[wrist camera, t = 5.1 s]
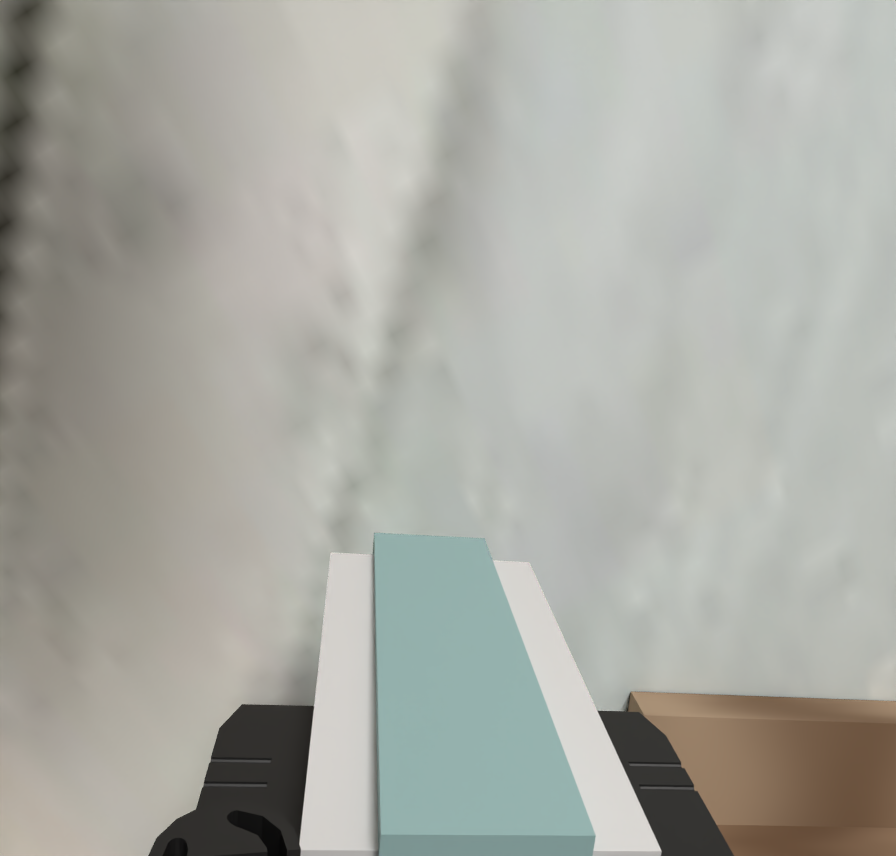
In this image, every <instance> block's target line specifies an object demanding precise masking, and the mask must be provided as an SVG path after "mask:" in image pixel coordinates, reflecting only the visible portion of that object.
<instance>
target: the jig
mask: <svg viewBox="0 0 896 856" xmlns="http://www.w3.org/2000/svg"><path fill="white" fill-rule="evenodd" d="M628 712H640V713H641V714H642V715H643V716H644V717H645V718H647V719H648V720H649V721H650V722H651V723H652V724H653V725H655V726H656V727H657V728H658V729H659V730H660V731H661V732H663V733H664V734H665V735H666V736H667V738H668V740H669V742H670V743H671V745H672V747H673V749H674V750H675V752H676V754H677V756H678V758H679V759H680V761H681V767H682V768H685V770H686V772H687V773H688V775H689V777H690V779H691V780H692V782H693V784H694V790H695V791H698V793H699V795H700V796H701V798H702V800H703V802H704V803H705V805H706V807H707V809H708V810H709V812H710V814H711V816H712V818H713V819H714V821H715V823H716V825H717V826H718V828H719V830H720V832H721V833H722V835H723V837H724V839H725V840H726V842H727V844H728V846H729V847H730V849H731V851H732V853H733V855H734V856H896V701H874V700H846V699H819V698H791V697H763V696H736V695H708V694H681V693H653V692H631V695H630V701H629V707H628Z"/></svg>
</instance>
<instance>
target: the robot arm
mask: <svg viewBox="0 0 896 856" xmlns="http://www.w3.org/2000/svg"><path fill="white" fill-rule="evenodd" d="M493 563H494V565H495V568H496V571H497V573H498V576H499V579H500V581H501V584H502V587H503V589H504V592H505V595H506V597H507V600H508V603H509V605H510V608H511V611H512V613H513V616H514V619H515V621H516V624H517V627H518V629H519V632H520V635H521V637H522V640H523V643H524V645H525V648H526V651H527V653H528V656H529V659H530V661H531V664H532V667H533V669H534V672H535V675H536V677H537V680H538V683H539V685H540V688H541V691H542V693H543V696H544V699H545V701H546V704H547V707H548V709H549V712H550V715H551V717H552V720H553V723H554V725H555V728H556V731H557V733H558V736H559V739H560V741H561V744H562V747H563V749H564V752H565V755H566V757H567V760H568V763H569V765H570V768H571V771H572V773H573V776H574V779H575V781H576V784H577V787H578V789H579V792H580V795H581V797H582V800H583V803H584V805H585V808H586V811H587V813H588V816H589V819H590V821H591V824H592V827H593V829H594V832H595V835H596V837H595V844H594V850H593V856H734V855H733V853H732V851H731V849H730V847H729V846H728V844H727V842H726V840H725V839H724V837H723V835H722V833H721V832H720V830H719V828H718V826H717V825H716V823H715V821H714V819H713V818H712V816H711V814H710V812H709V810H708V809H707V807H706V805H705V803H704V802H703V800H702V798H701V796H700V795H699V793H698V791H695V790H694V784H693V782H692V780H691V779H690V777H689V775H688V773H687V772H686V770H685V768H682V767H681V761H680V759H679V758H678V756H677V754H676V752H675V750H674V749H673V747H672V745H671V743H670V742H669V740H668V738H667V736H666V735H665V734H664V733H663V732H661V731H660V730H659V729H658V728H657V727H656V726H655V725H653V724H652V723H651V722H650V721H649V720H648V719H647V718H645V717H644V716H643V715H642V714H641V713H640V712H622V711H597V709H596V707H595V705H594V702H593V700H592V698H591V696H590V694H589V692H588V689H587V687H586V685H585V683H584V681H583V678H582V676H581V674H580V672H579V670H578V667H577V665H576V663H575V661H574V659H573V657H572V654H571V652H570V650H569V648H568V646H567V643H566V641H565V639H564V637H563V635H562V633H561V630H560V628H559V626H558V624H557V622H556V619H555V617H554V615H553V613H552V611H551V608H550V606H549V604H548V602H547V600H546V598H545V595H544V593H543V591H542V589H541V587H540V584H539V582H538V580H537V578H536V576H535V574H534V571H533V569H532V567H531V565H530V563H529V562H516V561H496V560H493ZM149 856H378V800H377V733H376V665H375V598H374V555H373V554H352V553H332V552H331V554H330V563H329V573H328V582H327V591H326V601H325V610H324V619H323V628H322V638H321V647H320V656H319V666H318V675H317V684H316V694H315V703H314V706H285V705H246V704H242V705H241V706H240V707H239V708H238V709H237V710H236V711H235V712H234V713H233V715H232V716H231V717H230V718H229V719H228V720H227V721H226V722H225V723H224V724H223V725H222V726H221V727H220V728H219V732H218V735H217V739H216V742H215V746H214V749H213V753H212V756H211V763H209V767H208V770H207V774H206V777H205V781H204V787H203V788H202V791H201V794H200V798H199V801H198V805H197V808H196V810H194V811H192V812H190V813H188V814H186V815H184V816H182V817H180V818H178V819H176V820H175V821H174V822H173V823H172V824H171V825H170V826H169V827H168V828H167V829H166V830H165V831H164V832H163V833H161V834H160V835H159V836H158V837H157V838H156V840H155V843H154V845H153V847H152V849H151V851H150V853H149Z"/></svg>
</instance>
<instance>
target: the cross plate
mask: <svg viewBox="0 0 896 856" xmlns="http://www.w3.org/2000/svg"><path fill="white" fill-rule="evenodd" d="M373 555H374V598H375V665H376V733H377V800H378V856H593V850H594V844H595V837H596V835H595V832H594V829H593V827H592V824H591V821H590V819H589V816H588V813H587V811H586V808H585V805H584V803H583V800H582V797H581V795H580V792H579V789H578V787H577V784H576V781H575V779H574V776H573V773H572V771H571V768H570V765H569V763H568V760H567V757H566V755H565V752H564V749H563V747H562V744H561V741H560V739H559V736H558V733H557V731H556V728H555V725H554V723H553V720H552V717H551V715H550V712H549V709H548V707H547V704H546V701H545V699H544V696H543V693H542V691H541V688H540V685H539V683H538V680H537V677H536V675H535V672H534V669H533V667H532V664H531V661H530V659H529V656H528V653H527V651H526V648H525V645H524V643H523V640H522V637H521V635H520V632H519V629H518V627H517V624H516V621H515V619H514V616H513V613H512V611H511V608H510V605H509V603H508V600H507V597H506V595H505V592H504V589H503V587H502V584H501V581H500V579H499V576H498V573H497V571H496V568H495V565H494V563H493V560H492V557H491V555H490V552H489V549H488V547H487V544H486V541H485V539H484V538H464V537H445V536H425V535H406V534H386V533H374V543H373Z"/></svg>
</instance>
